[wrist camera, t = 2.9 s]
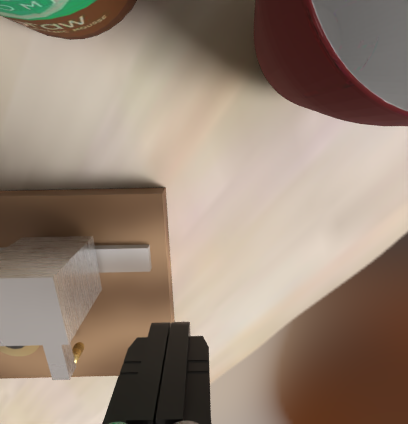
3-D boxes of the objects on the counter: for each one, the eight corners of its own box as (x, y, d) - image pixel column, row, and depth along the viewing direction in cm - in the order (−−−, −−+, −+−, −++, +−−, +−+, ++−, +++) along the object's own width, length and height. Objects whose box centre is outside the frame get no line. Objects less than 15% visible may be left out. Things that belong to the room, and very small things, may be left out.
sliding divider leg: (22, 237, 15) (-44, 279, 11) (92, 235, 15) (52, 277, 11) (52, 348, 17) (8, 414, 13) (111, 346, 17) (85, 412, 13)
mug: (446, 38, 14) (995, -153, 4) (350, 170, 16) (568, 236, 6) (285, -90, 12) (606, -905, 2) (201, 78, 14) (204, -14, 5)
